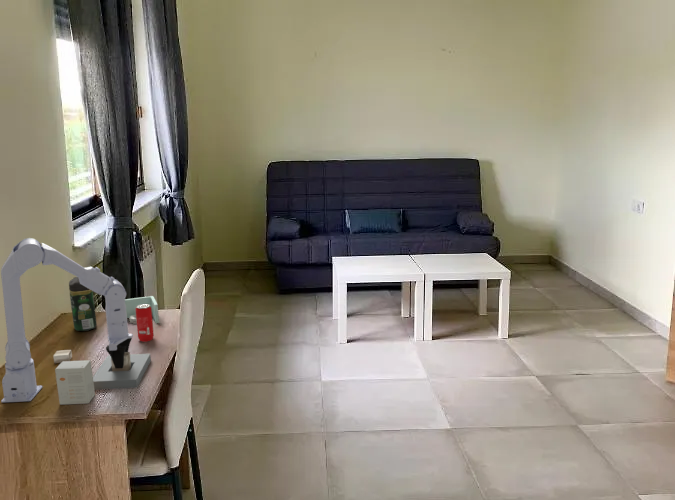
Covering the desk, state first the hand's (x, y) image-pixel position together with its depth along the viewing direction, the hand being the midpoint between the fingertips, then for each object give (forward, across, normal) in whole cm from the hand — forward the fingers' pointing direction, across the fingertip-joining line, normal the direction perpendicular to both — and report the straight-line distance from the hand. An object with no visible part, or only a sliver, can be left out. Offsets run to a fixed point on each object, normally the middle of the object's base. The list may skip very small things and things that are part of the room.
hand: (121, 364), depth 199 cm
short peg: (+3, +15, +22) cm, 27 cm away
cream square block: (+2, 0, 0) cm, 2 cm away
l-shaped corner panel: (+4, +51, +5) cm, 51 cm away
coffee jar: (+3, +46, +24) cm, 52 cm away
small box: (+3, -16, +8) cm, 18 cm away
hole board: (+3, 0, 0) cm, 3 cm away
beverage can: (+3, +30, -1) cm, 30 cm away
